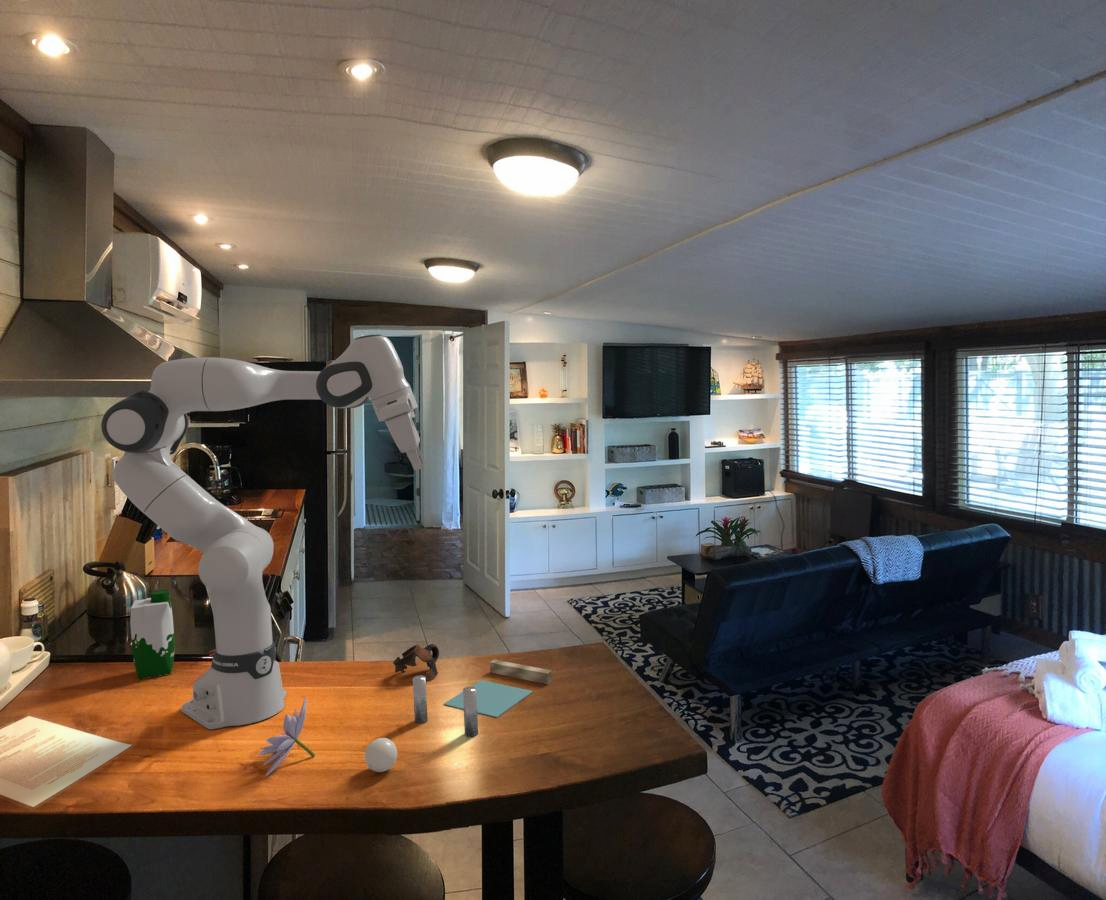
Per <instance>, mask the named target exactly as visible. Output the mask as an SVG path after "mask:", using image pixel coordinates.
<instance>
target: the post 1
mask: <svg viewBox="0 0 1106 900" xmlns="http://www.w3.org/2000/svg"><path fill="white" fill-rule="evenodd" d="M412 690H413V691H412V693H413V695H412V696H413V713H414V715H413V716H414V723H415V724H417V725H420V724H425V723H427V722H428V719H429V718H428V699H427V698H428V697H427V696H428V695H427V677H426V675H416V676H413V677H412Z"/></svg>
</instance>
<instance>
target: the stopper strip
mask: <svg viewBox="0 0 1106 900" xmlns="http://www.w3.org/2000/svg"><path fill="white" fill-rule="evenodd" d="M489 672H490V673H491V674H496V675H501V676H507V677H510V678H516V679H520V680H525V681H529V682H534V683H538V684H545V685H549V684H551V683H552V682H553V670H552V669H545V668H540V667H537V666H536V667H535V666H530V665H525V664H519V663H515V662H510V661H509V662H508V661H505V660H498V659H493V660H491V661H490V662H489Z"/></svg>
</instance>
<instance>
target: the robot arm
mask: <svg viewBox="0 0 1106 900" xmlns="http://www.w3.org/2000/svg"><path fill="white" fill-rule="evenodd" d="M150 378H151V380H150V389H149V390H147V391H146V390H139V391H137V392H134V393H133V394H131V395H129V396H127V397H125V398H123V399H121V400H119V401H118V402H115V404H113V405H111V406H110V407H109V408H108V409H107V410H106V412H105V413H104V414H103V416H102V419H101V427H100V428H101V433H102V436H103V437H104V439H105V440H106V442H107V443H108V444H109V445H111V446H112V448H114V449H116V450H118V451H121V452H124V453H123V456H122V457H120V458H119V460H118V461H117V462H116V463H115V465H114V468H113V470H112V478H113V481H114V482H115V484H116V486H118V488H119V489H120V491H121V492H122V493H123V494H124V496H125V497H126V498H127V499H129V501H130V502H131V503H132V504H133V505H134V506H135V507H136V508H137V509H138V510H139V511H140V512H142V514H144V515H145V516H146V517H147V518H149V519H150V520H151V521H152V522H153V523H155V524H156V526H158V527H159V528H160V529H161V530H163V531H164V532H165V533H166V534H167V535H168V536H169V537H171V538H172V539H174V540H175V541H177V542H180V543H182V544H186V545H188V546H190V547H192V548H193V549H195V550H198V551H200V552H201V553H203V554H202V555H201V557H200V559H199V563H198V569H197V571H198V576H199V579H200V581H201V582H202V584H203V585H204V586H205V588H206V593H207V596H208V599H209V603H210V606H211V611H212V616H213V625H214V626H213V627H214V636H215V637H214V638H215V649H212V650H210V651H208V653H210V654H209V656H208V657H212V659H211V660H212V661H211V666H210V667H209V668H208V669H206V671H205V672H204V673H203V674H202V675H201V676H199V677H198V678H197V679H196V680H195V681H194V683H193V685H192V686H193V687H192V698H191V699H190V700H188V701H187V702H185V703H184V704H182V705H181V707H180V708H181V709H180V710H181V712H182V713H183V714H185V715H186V716H188V717H189V718H191V719H193V720H194V721H195V722H197V723H199V724H200V725H201V726H203V727H204V728H206V729H208V730H216V729H221V728H225V727H232V726H233V727H235V726H244V725H250V724H253V723H254V724H255V723H257V722H261V721H264V720H265V719H268V718H271V717H273V716H274V715H277V714H278V713H280V712H281V711H282V710H283V708H285V699H286V697H287V696H286V694H287V695H288V693H287V690H286V689H283V688H284V687H283V684H282V683H283V682H282V676H281V670H280V664H279V662H278V661H277V659H276V658H277V653H276V652H277V648H276V647H277V646H276V644H275V643H276V642H275V641H274V640H273V626H272V625H273V624H272V612H271V611H272V609H271V604H270V603H269V601H268V599H267V596H266V592H265V588H264V583H263V572H264V570H265V569H266V568H267V567H268V566H269V564H270V563H271V561H272V559H273V555H274V547H275V545H274V540H273V537H272V536H271V535H270V533H269V532H268V531H267V530H265V529H264V528H262V527H259V526H256V525H255V524H254V523H252V522H251V521H249V520H247V519H246V518H245V517H243V516H242V515H240V514H238V513H237V512H235V511H234V510H232V509H231V508H229V507H228V506H226V505H225V504H223V503H221V502H220V501H219V500H218V499H216V498H215V497H214V496H213V495H211V494H210V493H209V492H208V491H207V490H206V489H205V488H204V487H202V486H201V485H199V484H198V483H197V482H196V481H195V480H194V479H193V478H191V476H190V475H188V474H187V473H186V472H185V471H183V470H182V469H181V468H180V467H179V466H178V465H177V464H176V463H175V462H174V461H173V459H172V458H171V455H174V454H175V453H176V452H177V450H178V447H179V446H180V443H181V442H182V441H183V439H184V437H185V435H186V434H187V432H188V428H189V422H190V421H189V416H188V413H190V412H192V413H193V412H225V411H226V412H227V411H228V412H229V411H235V410H241V409H246V408H251V407H257V406H259V405H263V404H266V403H271V402H276V401H284V400H319V401H320V400H321V401H322V402H323V403H325V404H326V405H328V406H330V407H333V408H335V409H336V408H337V409H355V408H358V407H361V406H363V405H364V404H366V403H367V402H368V401H369V400H370V402H371V404H372V407H373V410H374V413H375V415H376V417H377V419H378V422H384V423H385V425H386V426H387V429H388V430H389V433H390V435H391V438H392V439H393V441H394V443H395V444H396V446H397V448H398V450H399V452H400V453H401V454H403V453H405V454H406V457H407V458H408V459H409V461H410V464H411V466H412V468H413V470H414V471H419V470H422V469H423V465H424V460H423V458H422V453H421V450H420V447H419V444H420V441H421V439H420V436H419V433H418V430H417V428H416V425H415V423H414V421H413V418H416V414H415V412H414V411H415V410H416V409H417V408H419V406H418V404H417V400H416V398H415V395H414V392H413V390H412V387H411V385H410V383H409V382H408V381H407V379H406V377H405V373H404V367H403V364H402V361H401V359H400V357H399V355H398V352H397V350H396V349H395V346H394V344H393V342H392V341H391V340H390V338H388V337H386V336H385V335H381V334H366V335H362V336H358V337H355V338H353V339H352V340H351V342H350V343H349V345H348V347H347V348H346V349H345V350H344V351H343V352H342V354H341V355H340V356H339V357H337V358H336V359H335V360H333V361H332V362H331V363H330V364H328V365H326V366H325V367H324V368H323V369H322V370H319V371H314V370H311V371H310V370H304V371H303V370H281V369H275V368H269V367H266V366H262V365H259V364H256V363H252V362H249V361H244V360H240V359H239V360H238V359H233V358H227V357H225V358H224V357H211V356H210V357H206V356H205V357H202V356H201V357H188V358H178V359H172V360H167V361H163V362H161V363H160V364H158V365H157V366H156V367H155V368H154V370H153V372H152V375H151V377H150ZM285 696H286V697H285ZM284 698H285V699H284Z"/></svg>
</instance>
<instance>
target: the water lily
mask: <svg viewBox="0 0 1106 900" xmlns="http://www.w3.org/2000/svg"><path fill="white" fill-rule="evenodd" d="M307 703H308V697H307V695H306V696H305V697H304V700H303V702H302V706H301V709H300V712H299V713H298V712H297V708H296V707H295V708H294V712H293V716H292V717H291V716H290V715H289V714H286V715H285V716H284V720H283V725H282V727H283V728H282V729H283V731H284V733H281V734H279V735H276V736H272V737H269V738H267V739H266V740H265V743H267V744H268V746H264V747H261V748H260V750H261V751H260V752H259V753H258V754H257V756H266V755H270V754H273V755H271V757H269V758H268V759H267V760H266V761H265V762H264V763H263V766H265V765H268V764H269V763H272V762H273V761H274V762H273V764H272V765H271V766H270V768H269V769H268V770H267V772H266V774H265V777H268V776H269V775H270V774H271V773H272V772H274V771H275V769H277V768H278V766H279V765H280V764H282V763H283V761H284V760H285V759H286V758H287V756H288V755H289V753H291V750H292V748H293V747H294V745H295V744H297V745H298V746H300V747H301V748H302V749H303V750H305V752H306V753H308V755H310V756H311V757H312V758H314V757H315V756H316V754H315V753H314V752H313V751H312V750H311V749H310V748H309V747H308V746H306V744H304V743H303V742H302V741H300V740H298V739H299V737H300V735H301V732H302V730H303V728H304V724H305V721H306V714H307V713H306V710H307ZM269 744H270V745H269Z"/></svg>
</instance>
